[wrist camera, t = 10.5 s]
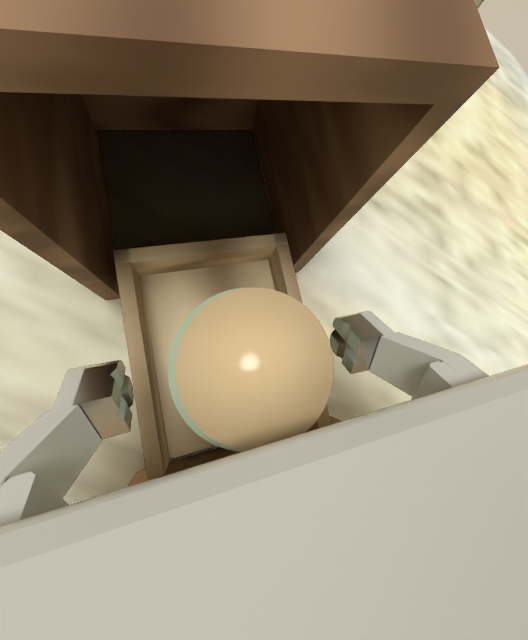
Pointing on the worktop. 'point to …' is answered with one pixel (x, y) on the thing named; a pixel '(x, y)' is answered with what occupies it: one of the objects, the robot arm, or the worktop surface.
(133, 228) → the worktop surface
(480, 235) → the worktop surface
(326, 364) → the spice jar
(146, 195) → the worktop surface
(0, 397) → the worktop surface
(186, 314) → the wooden drawer
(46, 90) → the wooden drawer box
